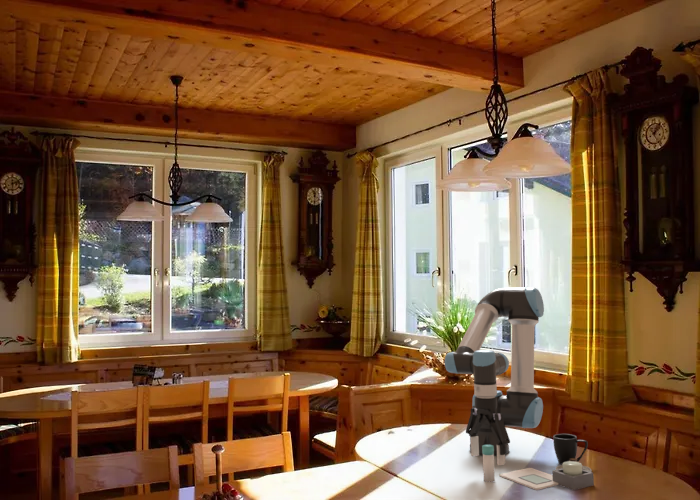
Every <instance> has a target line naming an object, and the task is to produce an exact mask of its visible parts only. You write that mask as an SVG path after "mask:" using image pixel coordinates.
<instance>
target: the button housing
mask: <svg viewBox="0 0 700 500" xmlns="http://www.w3.org/2000/svg"><path fill="white" fill-rule="evenodd" d="M551 475H553V481H554V482H557V483H558V485H557V486H560V487H563V488H567V489H569V490H572V491H576V490H580V489H584V488H589V487H593V486H595V482H594V481H595V478H594V472H592V471H591V472H589V471H586V470H583V469H582V474H580V475H576V476H571V475H568V474H565V473H563V468H562V469H557V470H556V469H555V470H552V474H551Z"/></svg>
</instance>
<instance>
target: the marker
mask: <svg viewBox="0 0 700 500" xmlns="http://www.w3.org/2000/svg"><path fill="white" fill-rule="evenodd" d="M482 454H483V455H482V465H483V466H482V467H483V469H482V470H483V481H484V482H485V483H493V482H495V481H496V480H495V479H496V478H495V477H496V476H495V456H494V446H493V445H483V446H482Z"/></svg>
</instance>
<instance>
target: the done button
mask: <svg viewBox="0 0 700 500" xmlns="http://www.w3.org/2000/svg"><path fill="white" fill-rule="evenodd" d="M579 462H580V461H579ZM579 462H573V461H568V462H563V464H562V465H563V473H565V474H568V475H571V476H576V475H580V474H582V466H583V465H582V463H581V462H580V463H579Z"/></svg>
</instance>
